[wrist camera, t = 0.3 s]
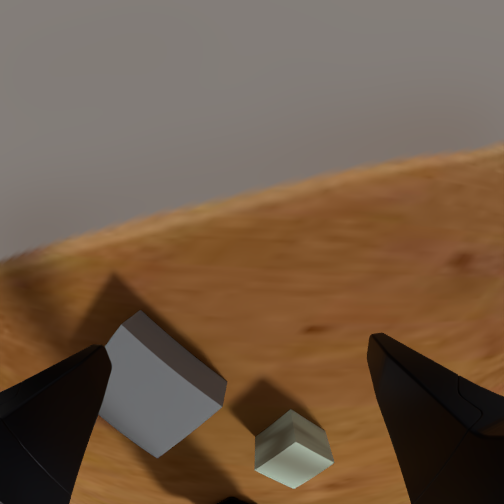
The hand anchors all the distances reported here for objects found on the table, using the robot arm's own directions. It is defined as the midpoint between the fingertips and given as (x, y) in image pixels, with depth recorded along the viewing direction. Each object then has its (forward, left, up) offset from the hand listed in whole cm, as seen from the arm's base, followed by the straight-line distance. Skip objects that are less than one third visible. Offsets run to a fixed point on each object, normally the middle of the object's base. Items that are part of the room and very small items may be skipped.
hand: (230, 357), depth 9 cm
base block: (-14, 0, -15) cm, 20 cm away
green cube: (-10, -14, -15) cm, 23 cm away
